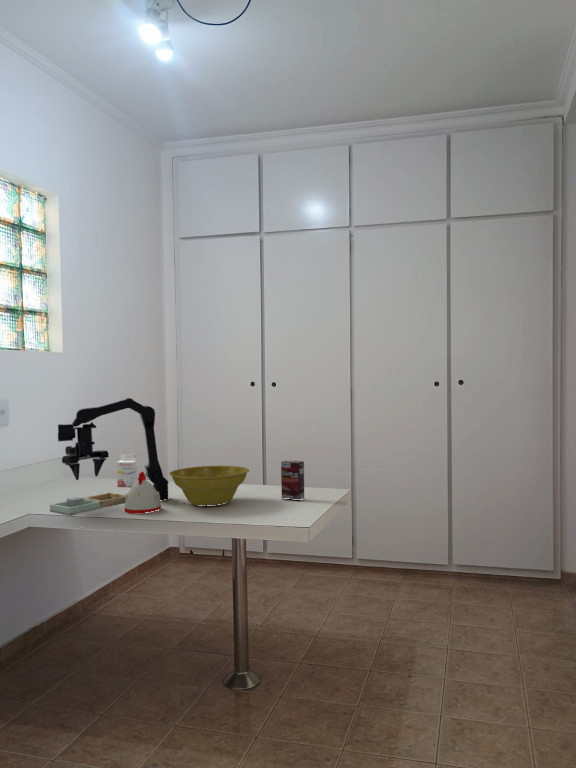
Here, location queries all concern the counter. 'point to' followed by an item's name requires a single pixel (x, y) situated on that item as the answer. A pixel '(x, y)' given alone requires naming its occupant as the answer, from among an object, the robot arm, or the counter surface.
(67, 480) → the counter surface
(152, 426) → the robot arm
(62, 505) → the green bin
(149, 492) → the kitchen timer
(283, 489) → the supplement box
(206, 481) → the planter bowl
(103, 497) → the oak tray
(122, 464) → the ink cartridge box
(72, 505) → the grey cube
